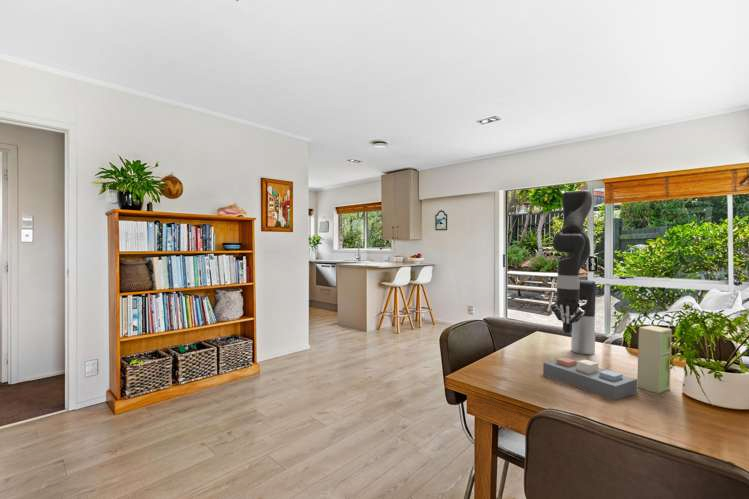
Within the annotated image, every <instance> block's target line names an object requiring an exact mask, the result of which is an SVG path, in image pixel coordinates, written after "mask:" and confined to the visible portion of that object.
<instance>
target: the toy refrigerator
mask: <svg viewBox="0 0 749 499" xmlns="http://www.w3.org/2000/svg"><path fill="white" fill-rule="evenodd" d="M672 332H673V330H672V328H668V327H661V326H657V325H644V326H640V327H638V341H637V342H638V347H637V348H638V349H637V378H636V379H637V388H639V389H643V390H646V391H649V392H652V393H655V394H661V393H663V392H666V391H669V390H670V389H671V365H672V363H671V364H670V359H669V357H670V356H671V357H672V339H673V338H672V336H673V335H672V334H673V333H672ZM666 344H667V345H666ZM668 345H671V346H668Z"/></svg>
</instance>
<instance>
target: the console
mask: <svg viewBox="0 0 749 499" xmlns="http://www.w3.org/2000/svg"><path fill="white" fill-rule="evenodd" d="M542 364H543V369H542V371H543V372H542V374H543V375H544V376H547V377H549V378H552V379H555V380H558V381H561V382H562V383H566V384H569V385H571V386H573V387H574V386H575V387H577V388H580V389H582V390H586V391H588V392H591V393H593V394H595V395H596V394H598V395H600V396H602V397H605V398H608V399H610V400H614V401H617V400H620V399H623V398H626V397H628V396H631V395H634V394H637V392H638V386H637V378H633V377H630V376H628V375H627V376H626V375H624V374H622V380H620V381H616V382H613V381H610V380H607V379H604V378H601V377H599V372H602V371H605V370H606V369H603V368H600V367H598V372H597V373H593V374H588V373H585V372H582V371H579V370H577V365H576V366H572V367H566V366H563V365H560V364H557V359H553V360H548V361H545V362H543V363H542Z"/></svg>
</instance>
